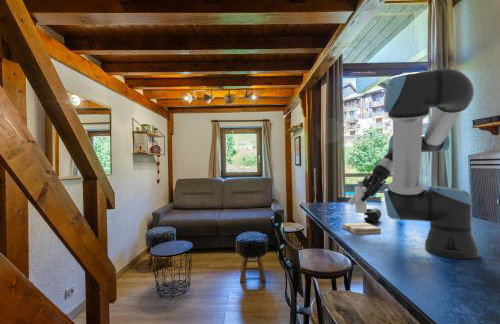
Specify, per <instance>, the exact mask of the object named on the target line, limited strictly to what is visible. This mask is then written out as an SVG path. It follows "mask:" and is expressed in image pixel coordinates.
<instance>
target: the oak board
mask: <svg viewBox="0 0 500 324" xmlns="http://www.w3.org/2000/svg"><path fill="white" fill-rule="evenodd" d="M342 228H343V229H345V230H347V231H348V232H350V233H353V234H354V235H367V234H380V233H382V231H381V230H382V229H381V227H377V226H375V225H374V224H369V223H366V222H365V221H362V222H350V223H349V222H348V223H345V222H344V223H342Z"/></svg>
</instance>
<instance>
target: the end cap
mask: <svg viewBox="0 0 500 324" xmlns="http://www.w3.org/2000/svg"><path fill="white" fill-rule="evenodd" d="M366 209H367V212H366V213H363V215H364V216H367V217H363V220H364V221H363V222H366V223H368V224H371V225H375V224H377V223H378V222H379V220H380V219H381V217H382V211H381V210H380V209H378V208H372V209H371V208H366Z"/></svg>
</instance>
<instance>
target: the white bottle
mask: <svg viewBox="0 0 500 324" xmlns="http://www.w3.org/2000/svg"><path fill="white" fill-rule="evenodd" d="M362 181H363V180H357V186H355V187H354V194H355V202H356V201H357V200H358V199H359V197H360V196H361V195H362V194H364V192H366V190H367V189H366V187H363V182H362ZM354 209H355V210H354V211H355V213H358V214H364V213H366V212H367V209H368V208H367V199H366V200H365V201H364V202H363V204H362V205H361V206H360V207H359V208H358V207H357V206H356V205H355V204H354Z"/></svg>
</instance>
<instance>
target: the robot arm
mask: <svg viewBox="0 0 500 324" xmlns="http://www.w3.org/2000/svg"><path fill="white" fill-rule="evenodd" d="M474 92H475V91H474V85H473V83H472V81H471V80H470V78H469V77H468V76H467V75H466V74H465V73H463V72H462V71H460V70H457V69H454V68H453V69H452V68H438V69H433V70H426V71H418V72H411V73H402V74H399V75H394V76H392V77H390V78H389V79H388V80H387V83H386V88H385V92H384V99H383V112H384V113H385V112H386V113H388V118H389V119H391V120H392V121H393V122H392V128H393V129H392V131H393V132H392V135H391V136H390V138H389V141H388V151H387V152H386V154H385V155H384V156H383V157H382V158H381V160H379V162H378V163H377V164H376V165H375V166H374V167H373V169H372V171H371V172H372V174H371V175H370V176H365V177H364V178H363V180H361V181H362V182H363V187H366V192H364V194H362V195H361V196H360V197H359V199H358V200H357V201H356V202H355V193H354V194H353V195H352V196H351V197H350V199H349V200H348V201H347V202H348V203H349V204H350V205H351V206H353V205H354V206H355V205H356V206H357V207H358V208H359V207H360V206H361V205H362V204H363V202H364V201H365V200H366V201H367V199H368V198H370V197H371V198H372V197H374V196H375V195H376V193H378V191H379V190H380V189H381V188H382V187H383V186H384V185H385V184H386V183H387V179H388V178H389V177H390V176H391V174H392V178H391V179H392V181H391V182H389V183H388V184H387V188H384V189H383V195H384V201H385V208H386V214H387V217H388V218H390V219H393V220H400V221H415V222H416V221H418V222H429V231H428V233H427V237H426V239H425V241H424V249H425V250H426V251H428V252H430V253H432V254H434V255H438V256H441V257H444V258H451V259H456V260H475V259H478V258H479V257H480V253H479V252H480V251H479V250H480V249H479V248H478V246H477V245H476V242H475V239H474V236H473V233H472V205H473V204H472V201H471V194H470V193H469V192H468V191H466V190H464V189H459V188H453V187H447V186H438V185H430V186H429V187H428V189H425V187H424V185H423V184H422V183H420V180H421V162H422V153H439V152H446V151H448V150H449V148H450V142H451V141H450V136H449V133H450V132H451V130H452V128H453V126H454V124H455V123H456V121H457V120H458V118H459V116H460V114H461V112H463V111H465V110H466V109H467V108H469V106H470V104H471V103H472V101H473V98H474V94H475V93H474ZM432 108H434V109H433V111H432V113H431V116H430V119H429V122H428V124H427V126H426V129H425V132H424V134H423V124H424V123H423V121H424V119H425V118H426V117H427V116H429V114H430V109H432Z"/></svg>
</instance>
